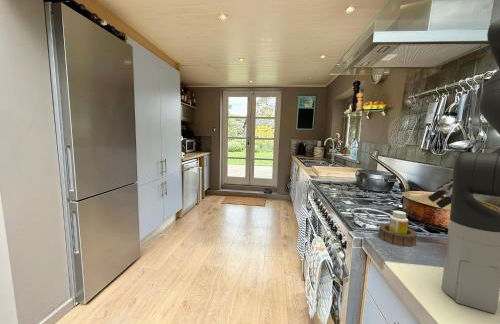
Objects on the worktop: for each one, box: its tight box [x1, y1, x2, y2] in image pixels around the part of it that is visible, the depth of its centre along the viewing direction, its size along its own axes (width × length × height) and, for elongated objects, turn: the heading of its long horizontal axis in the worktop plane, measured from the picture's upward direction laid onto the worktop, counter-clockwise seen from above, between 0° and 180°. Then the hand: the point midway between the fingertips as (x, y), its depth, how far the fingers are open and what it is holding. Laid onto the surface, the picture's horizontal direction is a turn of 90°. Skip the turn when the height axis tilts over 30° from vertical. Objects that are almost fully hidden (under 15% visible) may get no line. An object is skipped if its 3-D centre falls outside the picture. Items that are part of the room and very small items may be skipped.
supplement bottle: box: [388, 210, 409, 235], centre depth 81 cm, size 6×6×10 cm
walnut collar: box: [378, 223, 418, 247], centre depth 81 cm, size 11×11×4 cm
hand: (433, 202), depth 76 cm, fingers open, 8 cm apart
